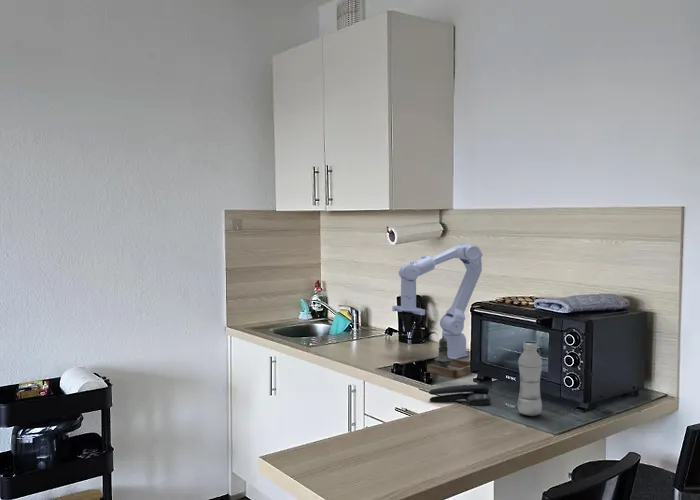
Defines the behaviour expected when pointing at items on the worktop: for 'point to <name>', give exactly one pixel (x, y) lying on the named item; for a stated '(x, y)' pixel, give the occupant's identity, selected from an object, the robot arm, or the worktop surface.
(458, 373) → the walnut corral
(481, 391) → the can opener
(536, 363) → the plastic bottle
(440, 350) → the grey stone vase
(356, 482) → the worktop surface
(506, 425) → the worktop surface
